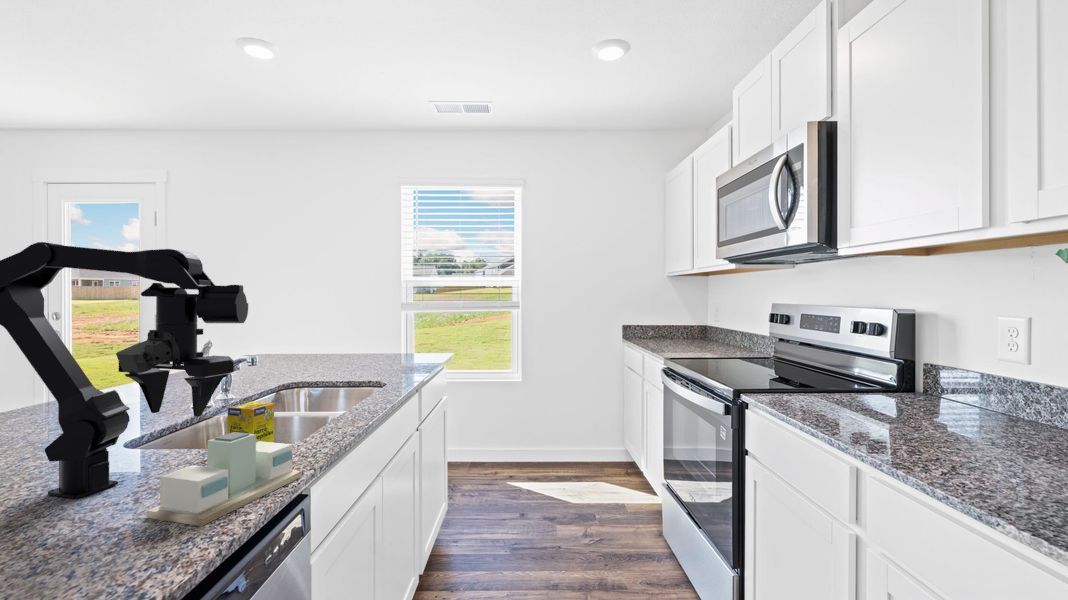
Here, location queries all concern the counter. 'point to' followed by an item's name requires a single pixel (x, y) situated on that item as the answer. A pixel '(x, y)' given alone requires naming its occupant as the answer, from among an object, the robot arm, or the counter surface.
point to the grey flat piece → (231, 496)
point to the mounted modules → (218, 479)
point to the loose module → (234, 458)
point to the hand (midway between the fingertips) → (176, 414)
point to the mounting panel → (227, 506)
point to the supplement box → (252, 420)
